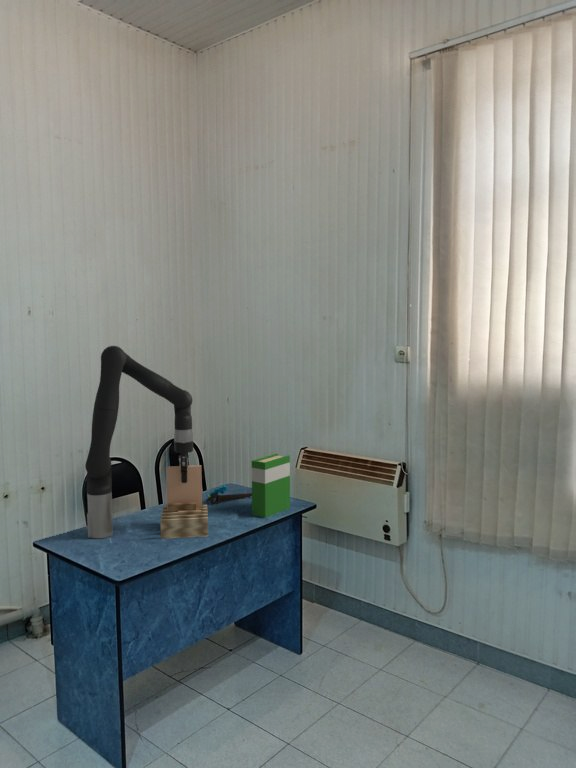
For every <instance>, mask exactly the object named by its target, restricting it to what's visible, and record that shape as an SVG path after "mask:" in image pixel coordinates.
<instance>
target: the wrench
mask: <svg viewBox="0 0 576 768" xmlns="http://www.w3.org/2000/svg"><path fill="white" fill-rule="evenodd" d="M250 496H252V492H250V493H249V492H248V493H233V494H221V495H217V494H212V495H211V497H210V498H208V497H207V498H206V499H205V501H206V502H210V503H211V505H213V504H216V505H217V504H219V503H221V502H227V501H232V500H233V501H235V500H239V498H241V499H246V498H245V497H248V498H251V497H250ZM214 497H216V498H215V499H216V500H214ZM213 500H214V501H213Z"/></svg>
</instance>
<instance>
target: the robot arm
mask: <svg viewBox="0 0 576 768" xmlns="http://www.w3.org/2000/svg"><path fill="white" fill-rule="evenodd" d="M122 373H123V374H125V375H127V376H129V377H131V378H132V379H134V380H135V381H136V382H138V383H140V385H142V386H143V387H144V388H145V389H148V390H149V391H150V392H153V393H154V394H156V395H158V396H159V397H161V398H163V399H165V400H167V401H168V402H169V403H171V404H172V405H173V409H174V410H173V411H174V432H173V444H174V447H173V448H174V453H176V454H177V453H178V454H180V455H178V461H179V466H180V468H181V482H182V483H187V468H188V466H189V460H190V455H189V454H188V453H192V452H193V451H194V432H193V418H192V414H191V413H192V411H191V410H192V409H191V408H192V404H193V397H192V394H190V392H189V391H187V390H186V389H183V388H181V387H178V386H177V385H175V384H174V383H173V382H171V380H168V379H167V378H165V377H163V376H162V375H160V374H158V373H157V372H155V371H153V370H151V369H149V368H147V367H146V366H144V365H142V364H141V363H139V362H137V361H136V360H135V359H134V358H132V356H130V355H128V354H127V353H126V352H125V351H124V350H123V349H122V348H121V347H120V346H118V345H109V346H107V347H105V349H103V351H102V352H101V354H100V378H99V384H98V387H97V392H96V396H95V398H94V399H95V400H94V403H93V410H92V411H93V412H92V420H91V440H90V446H89V451H88V454H87V458H86V461H85V470H86V473H87V481H86V482H87V484H86V495H87V496H86V498H87V514H86V520H87V521H86V522H87V523H86V524H87V538H90V539H104V538H109V537H111V536H113V534H114V522H113V519H114V517H113V496H112V495H113V493H112V491H113V490H112V486H113V485H112V484H113V483H112V482H113V481H112V480H113V479H112V478H113V474H112V459H111V455H110V452H111V445H112V438H113V436H114V433H115V429H116V426H117V421H118V415H119V407H120V382H121V379H122ZM184 469H185V470H184Z"/></svg>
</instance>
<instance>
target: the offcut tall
mask: <svg viewBox="0 0 576 768" xmlns="http://www.w3.org/2000/svg"><path fill="white" fill-rule="evenodd" d="M188 510H196V502H189V503H168V513H172V512H178V511H188Z"/></svg>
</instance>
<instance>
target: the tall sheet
mask: <svg viewBox="0 0 576 768" xmlns="http://www.w3.org/2000/svg"><path fill="white" fill-rule="evenodd" d="M202 468H203V467H202V465H201V464H199V465H188V468H187V483H182V482H181V468H180V465H174V466H173V465H172V466H170V465H169V466H166V469H165V470H166V504H167V505H166V507H167V510H168V503H189V502H196V508H202V505H203V481H202V479H203V476H202V470H203V469H202ZM184 470H185V469H184Z"/></svg>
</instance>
